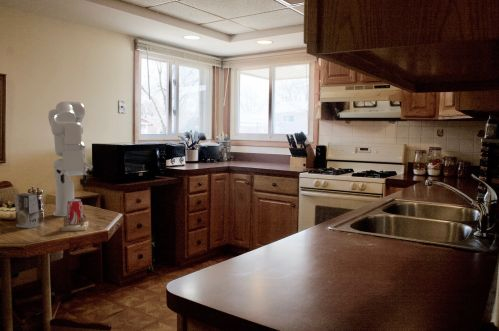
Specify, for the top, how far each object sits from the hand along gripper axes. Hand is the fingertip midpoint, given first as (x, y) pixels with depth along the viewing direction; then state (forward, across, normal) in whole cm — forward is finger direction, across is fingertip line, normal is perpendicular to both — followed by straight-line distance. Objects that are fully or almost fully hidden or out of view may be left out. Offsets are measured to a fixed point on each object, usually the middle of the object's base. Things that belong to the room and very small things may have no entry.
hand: (73, 183), depth 204 cm
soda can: (+20, 0, 0) cm, 21 cm away
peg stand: (+22, 0, +1) cm, 22 cm away
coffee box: (+23, +23, -7) cm, 33 cm away
